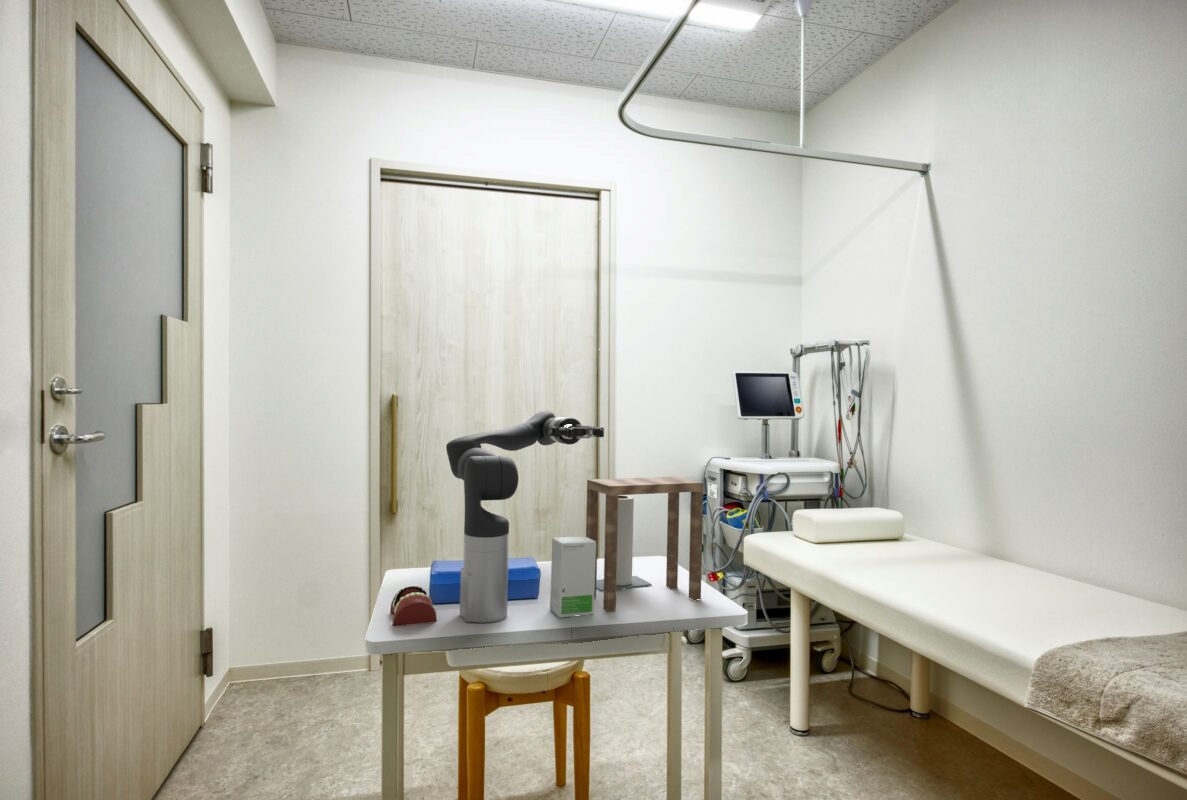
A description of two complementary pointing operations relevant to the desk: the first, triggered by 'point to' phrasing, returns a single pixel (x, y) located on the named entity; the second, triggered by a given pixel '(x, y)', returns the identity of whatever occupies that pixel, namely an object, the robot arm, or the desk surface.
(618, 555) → the paper towel roll
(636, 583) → the slate mat
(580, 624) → the desk surface
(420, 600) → the teeth
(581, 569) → the skincare box
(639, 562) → the desk surface
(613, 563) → the walnut shelf
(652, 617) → the desk surface
